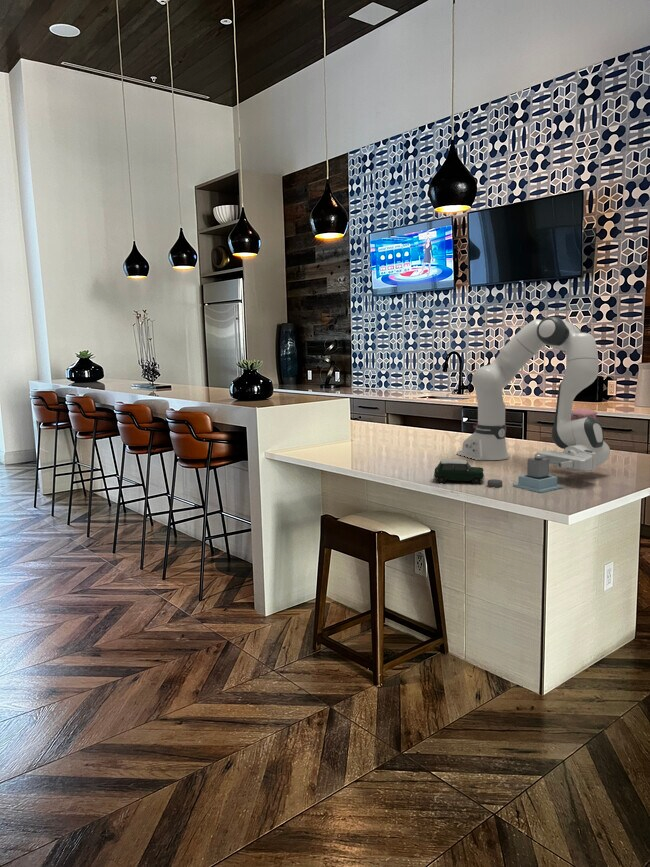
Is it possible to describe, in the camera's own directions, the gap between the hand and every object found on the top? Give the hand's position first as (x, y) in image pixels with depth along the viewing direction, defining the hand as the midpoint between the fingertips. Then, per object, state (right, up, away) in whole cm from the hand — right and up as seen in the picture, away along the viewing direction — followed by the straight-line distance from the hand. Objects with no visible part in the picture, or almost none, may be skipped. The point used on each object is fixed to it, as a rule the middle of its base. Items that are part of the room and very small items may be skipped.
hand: (548, 462), depth 225 cm
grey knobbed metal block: (-4, -8, -2) cm, 9 cm away
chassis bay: (-5, -8, -2) cm, 10 cm away
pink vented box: (+30, +1, +50) cm, 59 cm away
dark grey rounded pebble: (-18, -8, +1) cm, 20 cm away
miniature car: (-29, -8, +10) cm, 32 cm away
